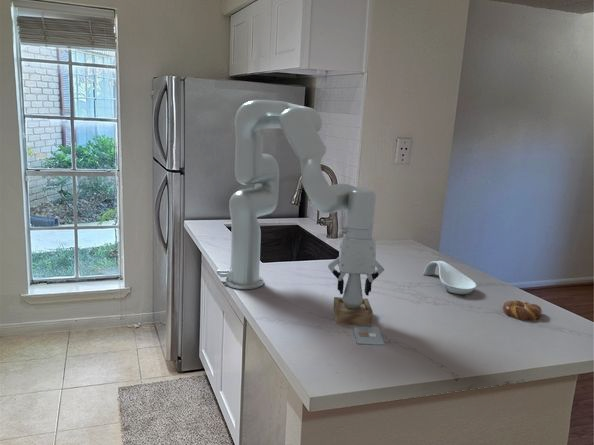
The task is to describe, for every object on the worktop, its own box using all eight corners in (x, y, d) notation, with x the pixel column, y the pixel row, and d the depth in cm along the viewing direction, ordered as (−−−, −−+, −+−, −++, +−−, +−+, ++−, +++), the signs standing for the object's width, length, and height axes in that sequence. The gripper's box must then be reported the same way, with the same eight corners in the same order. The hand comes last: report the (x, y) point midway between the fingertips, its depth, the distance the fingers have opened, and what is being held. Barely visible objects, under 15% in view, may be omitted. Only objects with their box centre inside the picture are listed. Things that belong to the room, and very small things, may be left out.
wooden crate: (336, 323, 145) (337, 310, 144) (333, 309, 155) (334, 296, 154) (371, 325, 145) (372, 311, 144) (366, 311, 155) (367, 298, 154)
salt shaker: (340, 303, 152) (343, 260, 149) (359, 303, 153) (363, 261, 150) (343, 311, 146) (347, 267, 143) (363, 311, 147) (367, 267, 144)
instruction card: (357, 344, 134) (357, 342, 133) (352, 327, 143) (353, 326, 143) (384, 345, 134) (384, 343, 134) (378, 328, 143) (378, 327, 143)
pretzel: (529, 308, 166) (531, 297, 165) (550, 322, 156) (552, 310, 155) (494, 307, 164) (496, 296, 164) (513, 322, 154) (515, 310, 153)
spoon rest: (482, 297, 173) (485, 276, 172) (452, 299, 169) (455, 278, 168) (441, 274, 195) (443, 255, 193) (413, 275, 191) (416, 257, 189)
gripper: (328, 234, 140) (324, 296, 145) (392, 237, 141) (386, 299, 145) (326, 228, 148) (322, 287, 152) (387, 231, 148) (381, 290, 152)
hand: (353, 292), depth 148 cm, fingers open, 6 cm apart
